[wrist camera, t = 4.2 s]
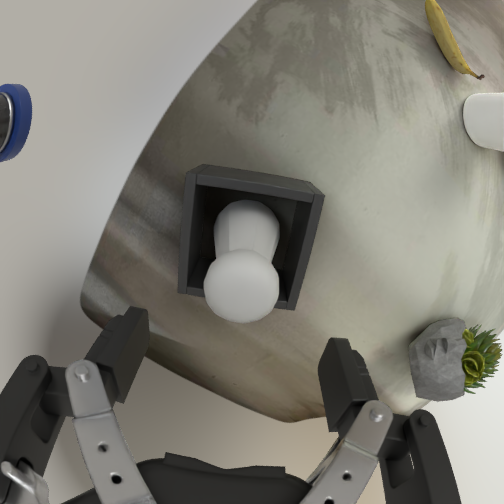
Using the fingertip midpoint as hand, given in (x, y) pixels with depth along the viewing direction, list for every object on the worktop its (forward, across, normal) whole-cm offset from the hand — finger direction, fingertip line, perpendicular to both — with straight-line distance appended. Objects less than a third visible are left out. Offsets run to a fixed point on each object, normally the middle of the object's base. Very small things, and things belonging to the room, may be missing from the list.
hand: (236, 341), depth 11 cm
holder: (+16, 0, 0) cm, 17 cm away
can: (+17, -24, -18) cm, 34 cm away
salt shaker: (+17, 0, 0) cm, 17 cm away
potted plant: (+17, -30, +11) cm, 36 cm away
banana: (+17, -17, -25) cm, 34 cm away
